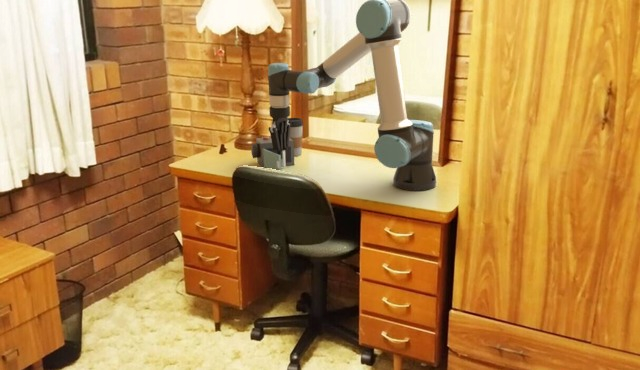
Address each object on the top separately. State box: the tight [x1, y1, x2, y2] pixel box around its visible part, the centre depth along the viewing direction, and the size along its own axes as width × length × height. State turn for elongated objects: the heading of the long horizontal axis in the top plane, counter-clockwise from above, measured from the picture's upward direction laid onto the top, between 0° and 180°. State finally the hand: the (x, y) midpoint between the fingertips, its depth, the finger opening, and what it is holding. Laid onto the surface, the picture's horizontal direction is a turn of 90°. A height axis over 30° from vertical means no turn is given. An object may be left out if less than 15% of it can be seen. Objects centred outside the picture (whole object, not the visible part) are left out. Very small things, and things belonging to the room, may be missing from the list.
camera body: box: [250, 135, 295, 167], centre depth 248 cm, size 9×16×11 cm, turn 108°
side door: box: [262, 148, 282, 171], centre depth 238 cm, size 12×2×7 cm, turn 36°
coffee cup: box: [287, 117, 304, 158], centre depth 261 cm, size 8×8×15 cm
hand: (281, 166), depth 239 cm, fingers closed
